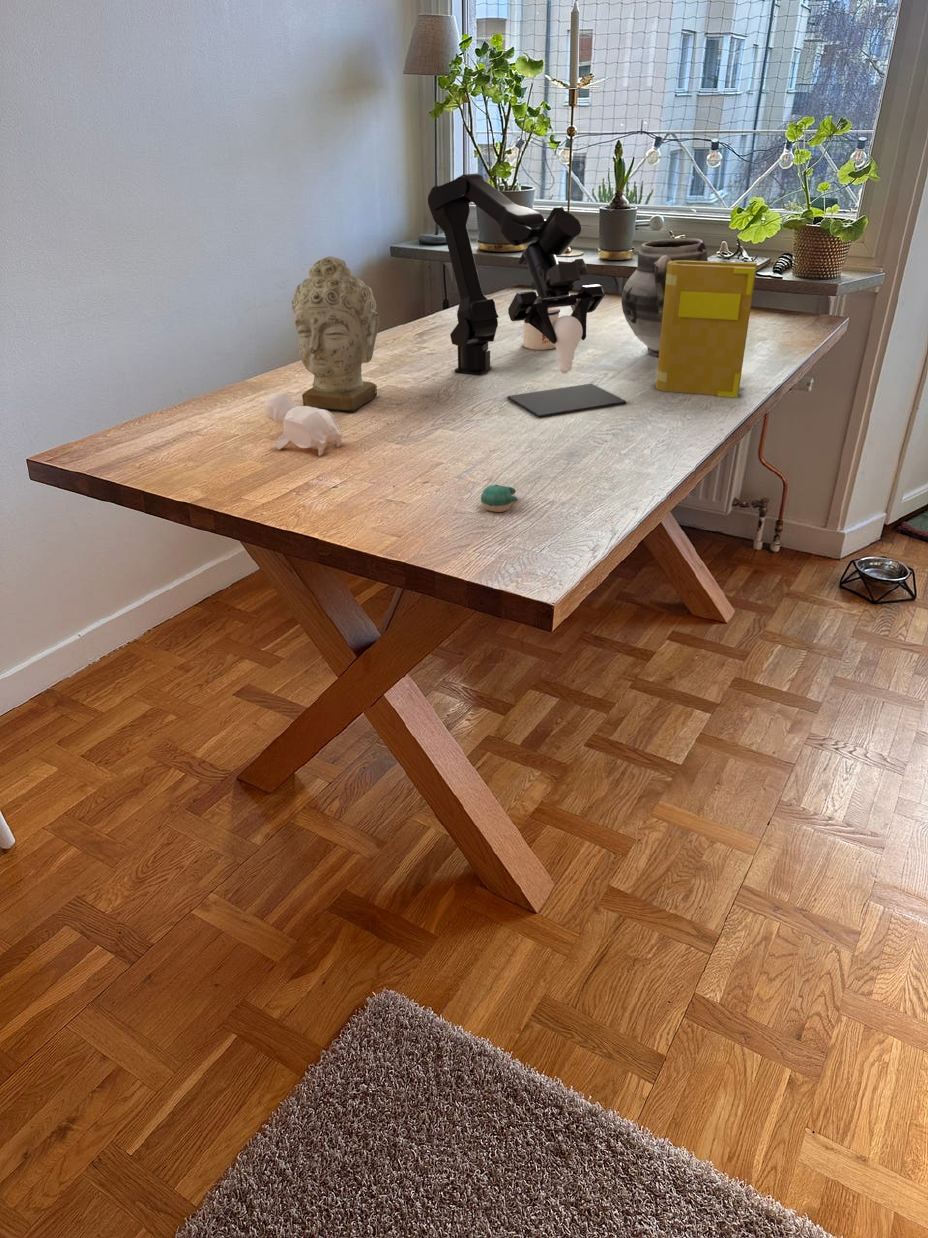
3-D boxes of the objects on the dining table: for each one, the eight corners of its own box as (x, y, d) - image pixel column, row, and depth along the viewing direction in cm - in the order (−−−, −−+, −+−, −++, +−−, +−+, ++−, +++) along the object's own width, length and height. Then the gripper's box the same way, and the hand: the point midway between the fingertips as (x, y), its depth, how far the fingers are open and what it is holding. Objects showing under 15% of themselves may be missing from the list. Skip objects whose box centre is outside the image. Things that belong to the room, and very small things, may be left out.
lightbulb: (571, 379, 173) (574, 320, 168) (543, 374, 176) (545, 317, 171) (585, 371, 178) (588, 314, 172) (558, 367, 181) (560, 310, 175)
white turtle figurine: (341, 458, 166) (280, 417, 169) (351, 419, 160) (288, 377, 164) (311, 473, 160) (249, 430, 163) (320, 433, 154) (255, 390, 158)
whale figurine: (472, 510, 137) (472, 487, 135) (492, 493, 143) (492, 471, 141) (507, 517, 135) (508, 493, 133) (526, 499, 140) (526, 476, 138)
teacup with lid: (546, 352, 217) (548, 302, 211) (515, 347, 222) (515, 298, 216) (571, 341, 225) (573, 293, 219) (540, 337, 230) (542, 289, 224)
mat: (507, 398, 186) (507, 395, 185) (590, 385, 192) (591, 383, 192) (538, 417, 175) (538, 415, 174) (626, 403, 181) (626, 401, 181)
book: (739, 388, 189) (757, 262, 176) (736, 397, 184) (754, 268, 171) (658, 381, 194) (670, 259, 181) (653, 390, 188) (665, 264, 176)
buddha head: (282, 411, 181) (264, 263, 166) (325, 385, 196) (312, 248, 181) (358, 419, 176) (346, 267, 161) (396, 392, 191) (388, 251, 176)
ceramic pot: (701, 372, 200) (715, 252, 187) (602, 363, 208) (609, 247, 195) (725, 342, 222) (739, 233, 209) (635, 335, 230) (643, 230, 217)
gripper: (515, 247, 165) (541, 321, 162) (603, 240, 171) (629, 311, 168) (497, 284, 175) (521, 355, 172) (580, 276, 181) (605, 344, 178)
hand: (569, 340), depth 173 cm, fingers closed on lightbulb, 6 cm apart
